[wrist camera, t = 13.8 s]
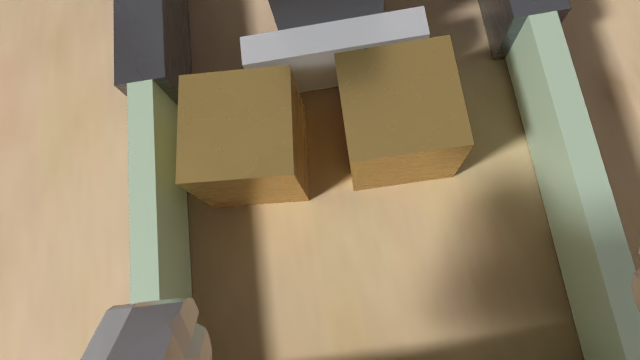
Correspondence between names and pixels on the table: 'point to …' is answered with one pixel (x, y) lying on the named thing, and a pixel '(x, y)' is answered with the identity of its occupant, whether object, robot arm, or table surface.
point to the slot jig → (174, 40)
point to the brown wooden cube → (242, 137)
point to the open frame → (548, 160)
